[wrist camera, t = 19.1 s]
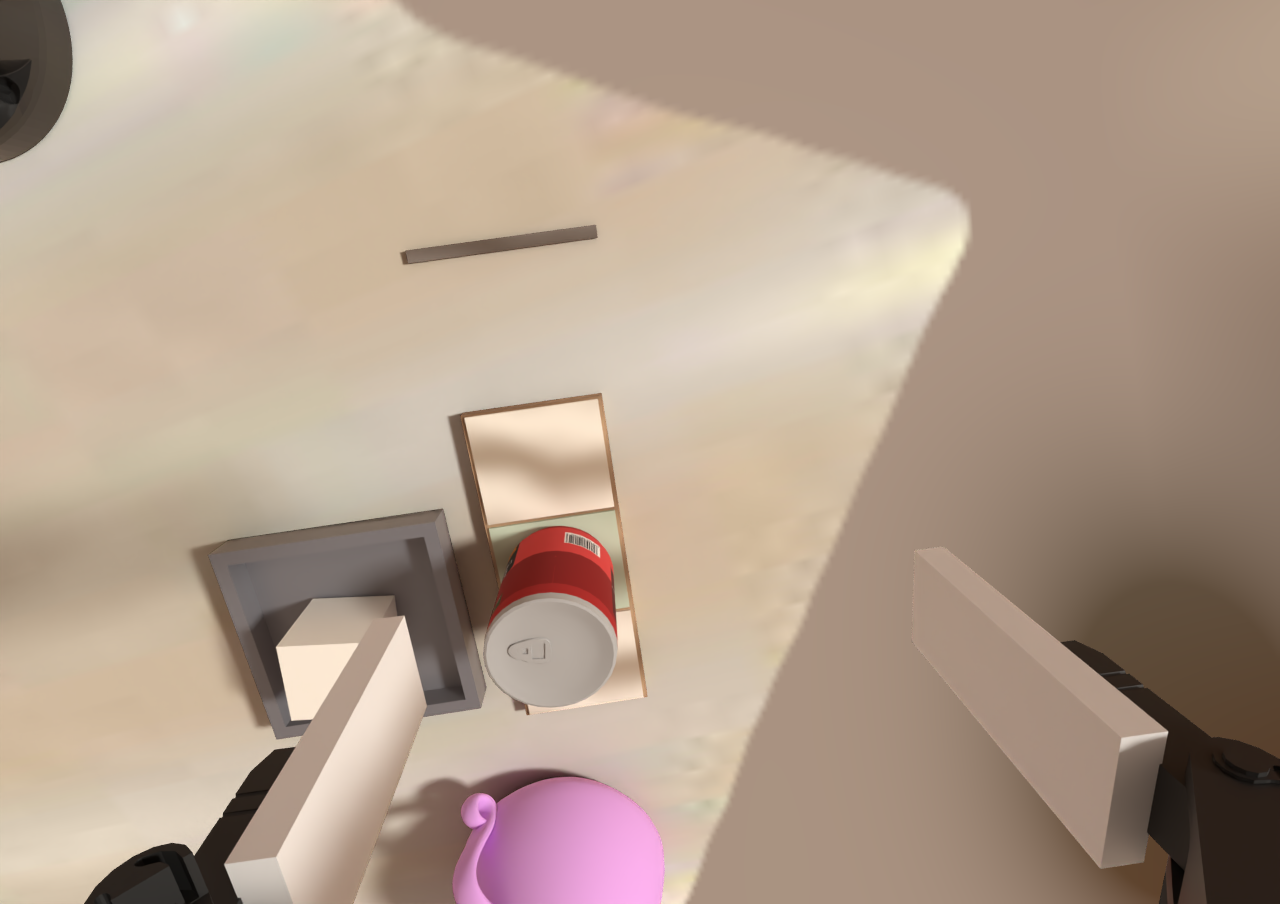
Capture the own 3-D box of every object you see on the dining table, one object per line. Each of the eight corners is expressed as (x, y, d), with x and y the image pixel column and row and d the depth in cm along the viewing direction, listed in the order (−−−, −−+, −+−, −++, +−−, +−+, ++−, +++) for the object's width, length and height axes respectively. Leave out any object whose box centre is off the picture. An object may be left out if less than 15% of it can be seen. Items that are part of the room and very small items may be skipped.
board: (407, 250, 41) (401, 250, 40) (595, 225, 42) (595, 224, 40) (512, 709, 52) (510, 719, 51) (661, 686, 52) (663, 695, 51)
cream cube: (273, 647, 41) (289, 722, 43) (369, 642, 42) (380, 717, 44) (311, 597, 47) (324, 666, 49) (395, 594, 48) (404, 662, 50)
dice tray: (228, 540, 46) (208, 555, 44) (443, 508, 47) (434, 522, 44) (291, 717, 51) (276, 739, 49) (486, 687, 51) (481, 708, 49)
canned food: (495, 536, 46) (464, 616, 36) (599, 510, 46) (600, 583, 36) (524, 623, 49) (503, 723, 38) (624, 599, 48) (631, 692, 38)
